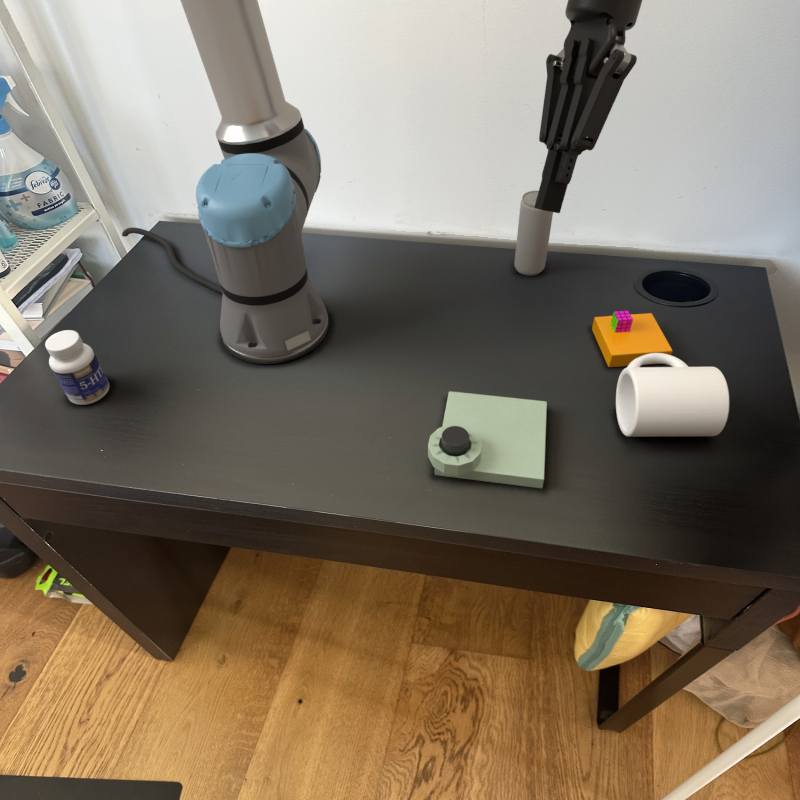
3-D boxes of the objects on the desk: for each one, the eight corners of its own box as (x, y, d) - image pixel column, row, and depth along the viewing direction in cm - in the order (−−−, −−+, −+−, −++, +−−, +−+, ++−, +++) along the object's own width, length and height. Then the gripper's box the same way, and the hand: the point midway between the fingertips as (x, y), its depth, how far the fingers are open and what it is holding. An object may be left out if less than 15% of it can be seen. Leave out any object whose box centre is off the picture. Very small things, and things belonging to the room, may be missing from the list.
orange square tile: (647, 325, 88) (655, 300, 85) (668, 363, 82) (677, 338, 79) (591, 329, 88) (597, 304, 85) (608, 367, 82) (614, 343, 79)
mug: (713, 450, 72) (737, 401, 66) (625, 450, 72) (641, 402, 67) (683, 378, 80) (702, 329, 75) (604, 379, 81) (617, 331, 75)
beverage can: (547, 262, 100) (557, 192, 91) (541, 279, 97) (552, 208, 88) (517, 258, 101) (524, 188, 92) (510, 274, 98) (518, 203, 89)
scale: (425, 480, 70) (424, 461, 68) (441, 399, 79) (441, 379, 77) (541, 495, 68) (546, 476, 66) (545, 410, 77) (548, 390, 75)
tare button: (439, 454, 69) (439, 444, 68) (443, 434, 71) (443, 424, 70) (467, 458, 68) (467, 447, 67) (470, 437, 70) (470, 427, 69)
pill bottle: (94, 409, 80) (65, 357, 74) (60, 402, 82) (29, 350, 75) (118, 381, 84) (93, 329, 78) (85, 375, 85) (57, 323, 79)
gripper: (682, -17, 62) (606, 225, 70) (597, -1, 73) (541, 206, 81) (625, -41, 59) (553, 215, 67) (545, -21, 69) (492, 197, 78)
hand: (547, 210), depth 74 cm, fingers closed
